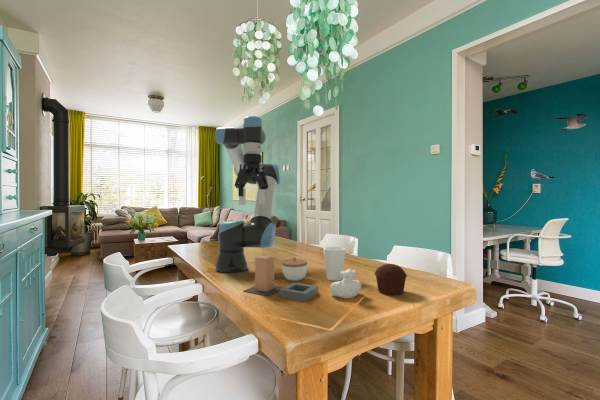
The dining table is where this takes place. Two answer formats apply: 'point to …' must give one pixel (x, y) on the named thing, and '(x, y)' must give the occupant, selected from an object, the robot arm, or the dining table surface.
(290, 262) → the lidded jar
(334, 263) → the foam cup
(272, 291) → the mat
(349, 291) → the bust
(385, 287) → the muffin
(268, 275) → the block
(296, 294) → the holder
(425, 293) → the dining table surface
